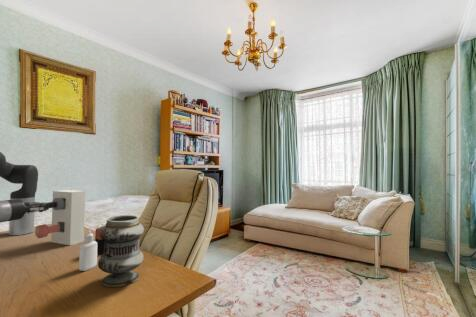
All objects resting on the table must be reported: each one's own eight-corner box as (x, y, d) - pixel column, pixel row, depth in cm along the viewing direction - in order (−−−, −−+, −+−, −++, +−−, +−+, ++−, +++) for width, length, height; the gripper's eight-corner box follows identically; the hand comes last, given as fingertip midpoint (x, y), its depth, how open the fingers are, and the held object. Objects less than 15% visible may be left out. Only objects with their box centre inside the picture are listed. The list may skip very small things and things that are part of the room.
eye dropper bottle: (100, 267, 81) (101, 230, 81) (80, 272, 76) (82, 233, 77) (94, 263, 83) (95, 227, 84) (75, 268, 79) (77, 231, 79)
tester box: (70, 245, 102) (71, 192, 103) (51, 242, 106) (52, 191, 107) (83, 241, 107) (85, 191, 108) (65, 238, 112) (66, 189, 113)
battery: (117, 250, 96) (118, 225, 96) (98, 255, 91) (99, 228, 91) (113, 248, 99) (113, 223, 99) (94, 252, 94) (95, 226, 94)
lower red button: (43, 239, 96) (43, 226, 96) (34, 237, 97) (35, 224, 98) (61, 234, 102) (61, 222, 102) (53, 233, 104) (53, 221, 104)
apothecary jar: (113, 294, 64) (115, 224, 64) (88, 282, 70) (90, 218, 71) (151, 276, 74) (153, 216, 74) (127, 267, 80) (128, 212, 81)
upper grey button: (59, 210, 101) (60, 198, 102) (51, 209, 103) (52, 197, 103) (75, 208, 108) (76, 196, 108) (68, 207, 110) (68, 196, 110)
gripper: (15, 201, 84) (66, 196, 100) (-7, 199, 89) (45, 194, 105) (14, 223, 84) (66, 214, 100) (-8, 220, 89) (45, 212, 105)
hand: (55, 204), depth 102 cm, fingers closed
